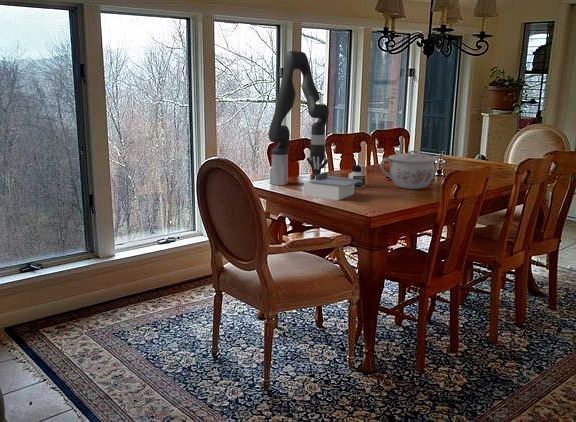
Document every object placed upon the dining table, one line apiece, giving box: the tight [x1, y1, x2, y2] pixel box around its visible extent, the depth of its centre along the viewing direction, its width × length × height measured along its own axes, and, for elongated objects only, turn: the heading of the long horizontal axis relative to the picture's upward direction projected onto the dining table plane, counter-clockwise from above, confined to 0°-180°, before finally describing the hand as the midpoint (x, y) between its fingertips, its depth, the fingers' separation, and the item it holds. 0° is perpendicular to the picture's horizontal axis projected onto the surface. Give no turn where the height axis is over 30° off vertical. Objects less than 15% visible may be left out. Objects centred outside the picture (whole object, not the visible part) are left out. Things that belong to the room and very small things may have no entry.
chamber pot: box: [379, 150, 439, 190], centre depth 311 cm, size 28×28×21 cm
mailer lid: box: [309, 172, 362, 187], centre depth 286 cm, size 21×19×3 cm
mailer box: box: [303, 178, 355, 201], centre depth 290 cm, size 20×18×7 cm
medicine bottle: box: [348, 164, 366, 189], centre depth 312 cm, size 7×7×12 cm
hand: (317, 176), depth 292 cm, fingers closed
